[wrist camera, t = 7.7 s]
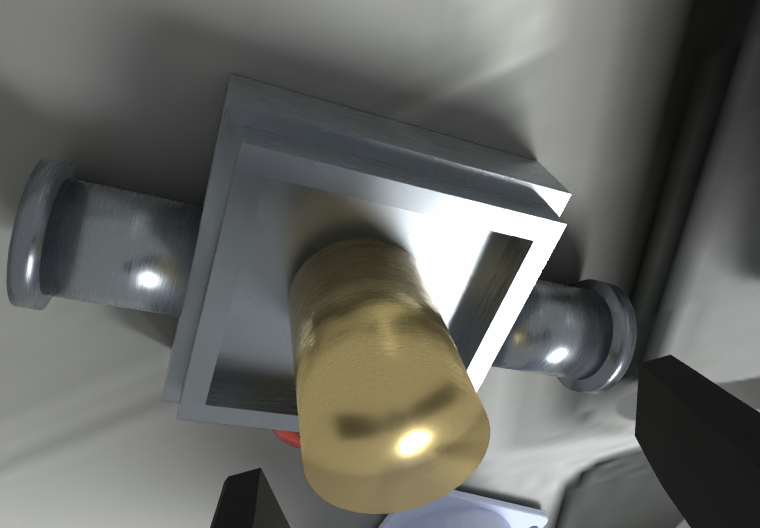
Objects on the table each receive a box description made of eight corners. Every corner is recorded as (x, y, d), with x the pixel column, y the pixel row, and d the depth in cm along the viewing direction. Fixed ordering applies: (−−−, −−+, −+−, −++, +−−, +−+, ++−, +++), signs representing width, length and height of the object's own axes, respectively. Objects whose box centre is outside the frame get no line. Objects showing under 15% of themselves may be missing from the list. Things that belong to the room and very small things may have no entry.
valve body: (638, 190, 21) (710, 247, 18) (505, 417, 26) (541, 495, 23) (68, 27, 15) (16, 65, 12) (40, 357, 20) (-2, 449, 17)
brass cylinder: (384, 367, 20) (429, 526, 15) (265, 330, 18) (270, 495, 13) (450, 266, 18) (525, 407, 13) (326, 217, 17) (358, 355, 12)
